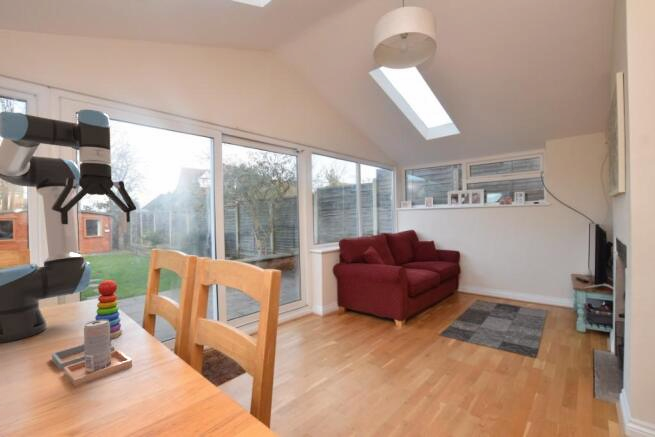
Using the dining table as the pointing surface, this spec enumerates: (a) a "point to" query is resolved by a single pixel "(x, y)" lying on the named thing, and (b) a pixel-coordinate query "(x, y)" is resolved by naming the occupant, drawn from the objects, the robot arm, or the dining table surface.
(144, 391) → the dining table surface
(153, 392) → the dining table surface
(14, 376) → the dining table surface
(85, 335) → the energy drink
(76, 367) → the terracotta dish
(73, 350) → the grey rectangular frame
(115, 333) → the stacking toy
